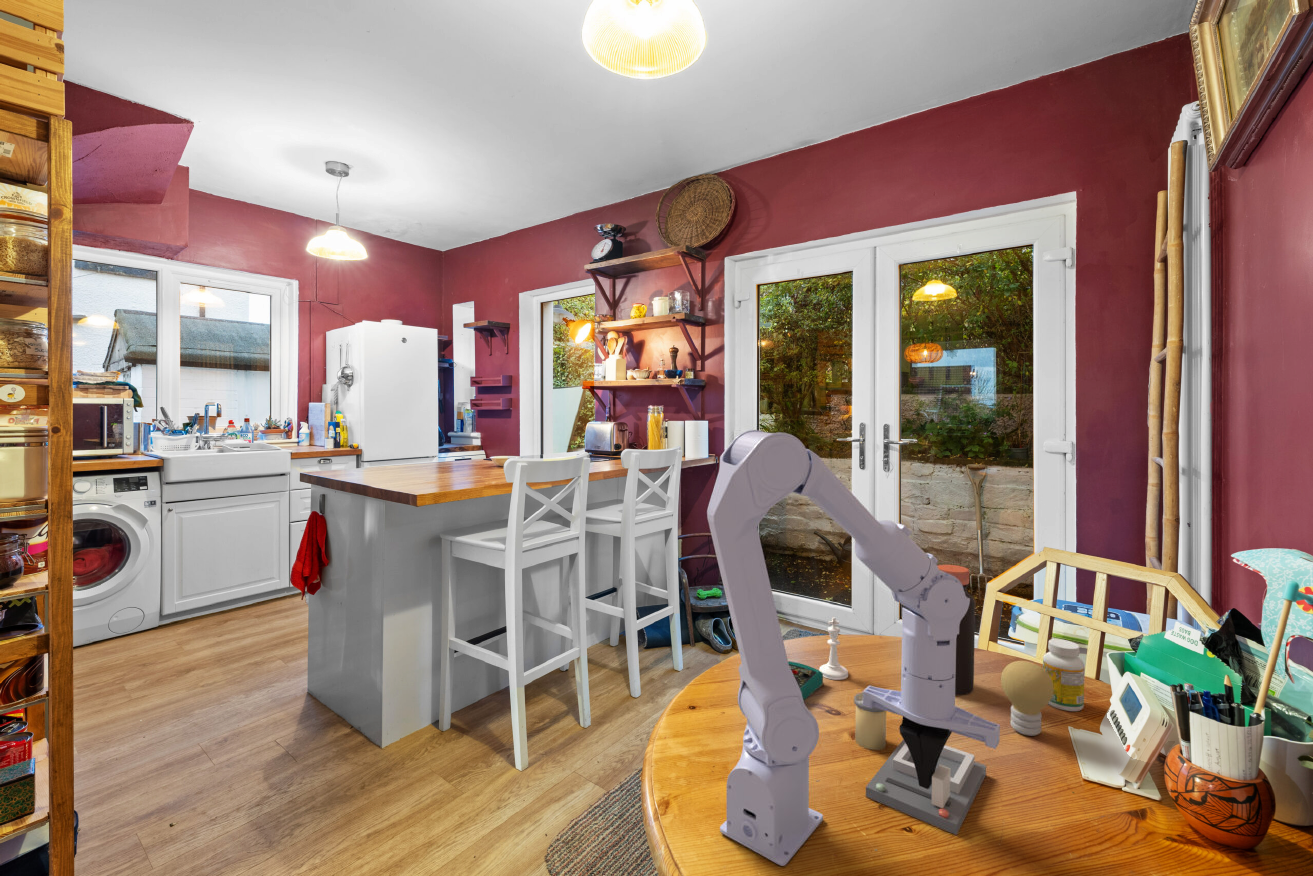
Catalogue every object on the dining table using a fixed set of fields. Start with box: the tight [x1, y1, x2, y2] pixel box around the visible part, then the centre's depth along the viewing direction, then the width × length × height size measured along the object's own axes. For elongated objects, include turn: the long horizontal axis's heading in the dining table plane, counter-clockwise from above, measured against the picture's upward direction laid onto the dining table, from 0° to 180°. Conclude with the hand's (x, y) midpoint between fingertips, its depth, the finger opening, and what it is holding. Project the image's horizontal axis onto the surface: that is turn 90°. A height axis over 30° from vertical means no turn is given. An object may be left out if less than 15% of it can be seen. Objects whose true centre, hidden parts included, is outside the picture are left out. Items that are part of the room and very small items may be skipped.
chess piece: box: [818, 616, 849, 681], centre depth 104 cm, size 5×5×10 cm
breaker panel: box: [865, 738, 987, 836], centre depth 73 cm, size 14×10×2 cm
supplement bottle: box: [1042, 638, 1086, 712], centre depth 93 cm, size 5×5×10 cm
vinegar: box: [937, 564, 976, 696], centre depth 98 cm, size 7×7×20 cm
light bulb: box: [1000, 660, 1053, 737], centre depth 85 cm, size 6×6×10 cm
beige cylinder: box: [853, 692, 887, 751], centre depth 82 cm, size 4×4×6 cm
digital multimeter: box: [788, 660, 824, 701], centre depth 97 cm, size 8×15×3 cm, turn 143°
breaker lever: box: [932, 765, 951, 808], centre depth 68 cm, size 3×1×3 cm, turn 139°
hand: (926, 783), depth 69 cm, fingers closed
